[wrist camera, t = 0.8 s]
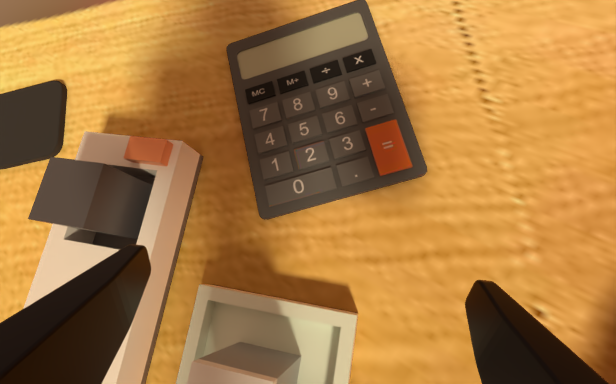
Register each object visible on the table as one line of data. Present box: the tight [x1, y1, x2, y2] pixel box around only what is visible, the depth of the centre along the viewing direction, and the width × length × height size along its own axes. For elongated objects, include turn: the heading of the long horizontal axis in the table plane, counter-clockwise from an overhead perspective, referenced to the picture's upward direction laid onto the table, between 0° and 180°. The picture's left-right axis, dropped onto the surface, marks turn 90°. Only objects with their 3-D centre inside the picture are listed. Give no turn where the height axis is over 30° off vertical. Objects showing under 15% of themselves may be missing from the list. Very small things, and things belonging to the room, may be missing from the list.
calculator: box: [227, 0, 427, 220], centre depth 26 cm, size 12×1×15 cm
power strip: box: [23, 132, 203, 384], centre depth 22 cm, size 20×8×6 cm, turn 170°
